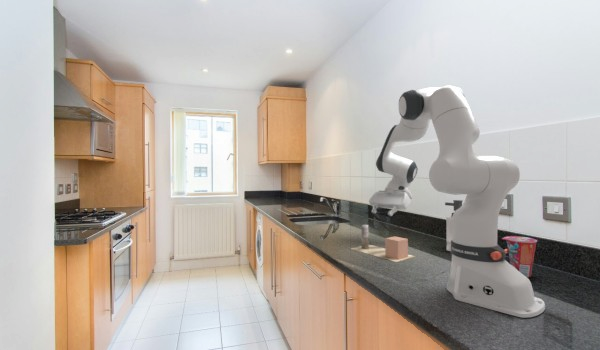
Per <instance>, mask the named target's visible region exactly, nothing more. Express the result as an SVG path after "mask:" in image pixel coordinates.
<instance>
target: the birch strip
mask: <svg viewBox="0 0 600 350" xmlns="http://www.w3.org/2000/svg"><path fill="white" fill-rule="evenodd" d="M360 226H361V245H360V246H355V247H351V248H350V250H354V251H357V252H361V253H365V254H367V255H371V256H375V257H377V258H381V259H384V260H389V261H391V262H395V263H398V262H402V261H405V260H409V259H414V258H416V255H412V254H408V257H406V258H402V259H399V260H398V259H394V258H391V257H387V256H385V248H384V247H380V246H378V245H377V246H376V245H372V244H369V240H370V238H369V235H370V234H369V224H361V225H360Z"/></svg>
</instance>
